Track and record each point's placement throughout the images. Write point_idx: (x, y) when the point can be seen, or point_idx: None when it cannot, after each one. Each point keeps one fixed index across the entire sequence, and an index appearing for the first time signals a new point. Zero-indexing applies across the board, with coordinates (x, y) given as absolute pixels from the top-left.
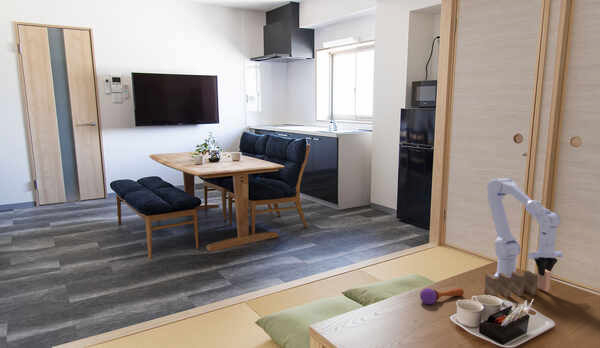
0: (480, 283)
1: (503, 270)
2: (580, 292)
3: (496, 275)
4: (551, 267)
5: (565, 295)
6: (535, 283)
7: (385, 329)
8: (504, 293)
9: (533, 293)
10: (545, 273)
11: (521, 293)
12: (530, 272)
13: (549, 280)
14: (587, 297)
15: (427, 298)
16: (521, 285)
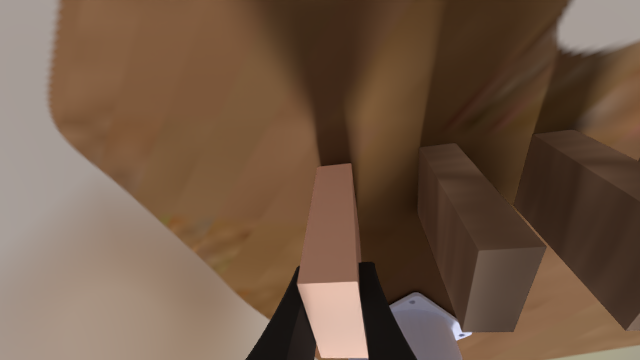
0: None
1: (459, 358)
2: (119, 159)
3: (459, 333)
4: (272, 347)
5: (229, 123)
6: (465, 191)
7: None
8: None
9: (445, 148)
10: (357, 276)
11: (560, 139)
12: (486, 308)
13: (318, 214)
14: (93, 87)
15: None
16: (629, 170)
